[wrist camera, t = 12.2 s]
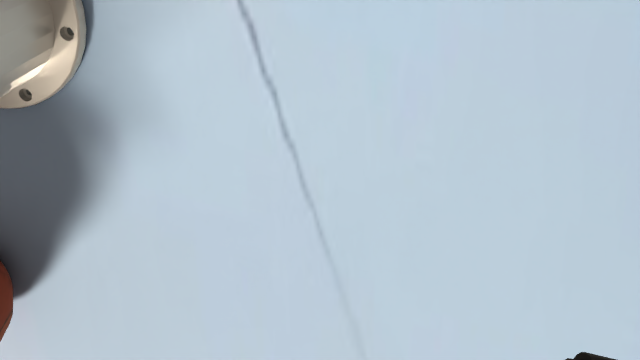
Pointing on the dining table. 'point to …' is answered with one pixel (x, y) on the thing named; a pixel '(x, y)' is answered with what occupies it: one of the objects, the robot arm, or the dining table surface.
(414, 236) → the dining table surface
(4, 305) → the potted plant
